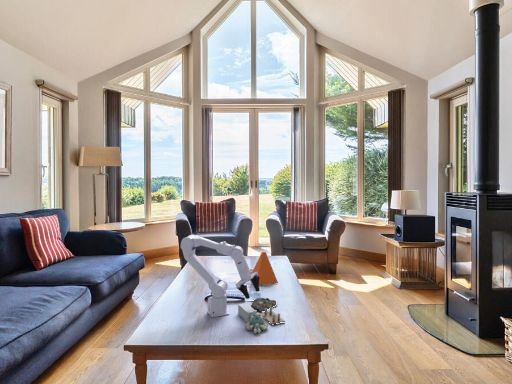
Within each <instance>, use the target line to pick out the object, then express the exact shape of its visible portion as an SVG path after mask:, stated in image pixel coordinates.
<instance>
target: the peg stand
mask: <svg viewBox="0 0 512 384" xmlns="http://www.w3.org/2000/svg"><path fill="white" fill-rule="evenodd" d="M259 314H261V315H262V316H263V317H264V318H265V319H266V320H267V321H268V322H270V323H271V324H276V323H280V322H285V323H286V320H284V319H283V318H281V313H277V314H276V312H274V311H273V308H272V307H270V311H267V308H265V312H264V313H261V312H259ZM264 318H263V319H264ZM265 319H264V320H265ZM266 320H265V321H266ZM267 321H266V322H267ZM268 322H267V323H268ZM270 323H269V324H270ZM271 324H270V325H271Z"/></svg>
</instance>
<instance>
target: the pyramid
mask: <svg viewBox="0 0 512 384" xmlns="http://www.w3.org/2000/svg"><path fill="white" fill-rule="evenodd" d="M274 271H275V270H274V269H273V266H272V264H271V262H270V260H269V257H268V255H267V253H266V251H261V253H260V255H259V257H258V258H257V262H256V263H255V266H254V267H253V270H252V272H251V274H252V273H254V272H258V276H259V284H266V285H270V284H269V283H278V284H279V281H278V278H277V277H276V274H275V272H274Z"/></svg>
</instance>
